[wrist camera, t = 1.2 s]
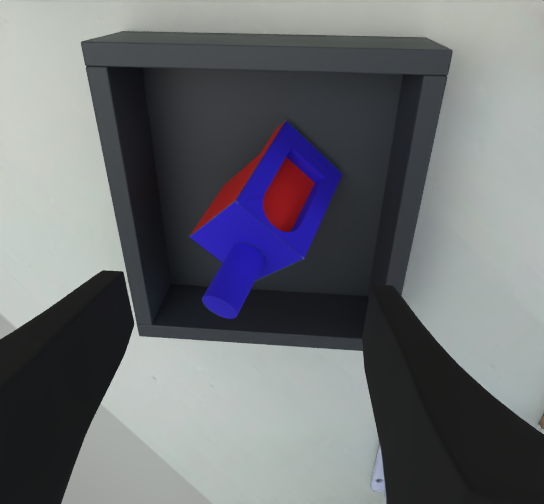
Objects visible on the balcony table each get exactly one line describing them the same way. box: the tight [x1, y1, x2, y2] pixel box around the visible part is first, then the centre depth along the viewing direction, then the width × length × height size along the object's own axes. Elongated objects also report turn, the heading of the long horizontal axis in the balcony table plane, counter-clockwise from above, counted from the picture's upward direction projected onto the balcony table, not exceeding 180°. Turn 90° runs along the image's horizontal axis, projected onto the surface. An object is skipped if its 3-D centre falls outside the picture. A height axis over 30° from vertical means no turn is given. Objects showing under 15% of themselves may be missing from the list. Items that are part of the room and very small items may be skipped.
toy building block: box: [189, 120, 342, 319], centre depth 19 cm, size 4×4×8 cm
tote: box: [81, 31, 453, 351], centre depth 20 cm, size 14×13×4 cm
